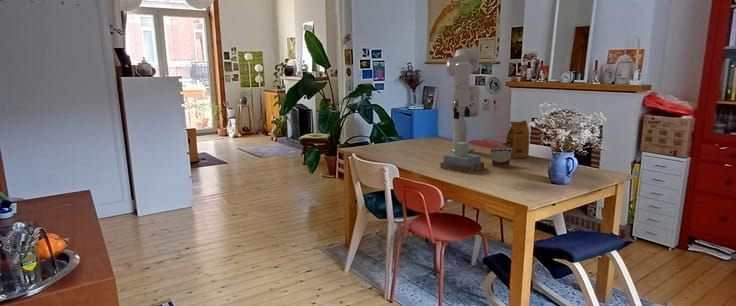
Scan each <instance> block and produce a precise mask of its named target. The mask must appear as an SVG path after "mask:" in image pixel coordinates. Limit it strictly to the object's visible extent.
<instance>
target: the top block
mask: <svg viewBox="0 0 736 306" xmlns="http://www.w3.org/2000/svg"><path fill="white" fill-rule="evenodd" d="M481 158H482V157H481V155H480V154H473V153H468V155H466V156H463V157H462V156H456V155H455V152H452V153H448V154H444V155H443V162H445V163H450V164H456V165H461V166H467V167H468V166H471V165H474V164H478V163H481V162H482V161H481Z"/></svg>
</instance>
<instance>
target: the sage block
mask: <svg viewBox="0 0 736 306" xmlns="http://www.w3.org/2000/svg"><path fill="white" fill-rule="evenodd" d="M468 144H469V142H468V143H466V142H457V143H455V152H454V153H455V155H456V156H462V157H463V156H466V155H468V154H469V152H468V148H469V147H468Z"/></svg>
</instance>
